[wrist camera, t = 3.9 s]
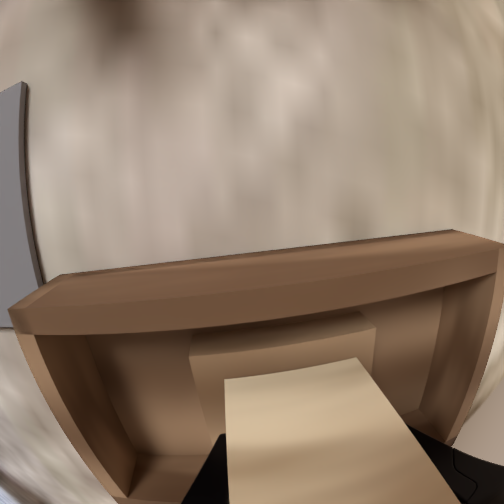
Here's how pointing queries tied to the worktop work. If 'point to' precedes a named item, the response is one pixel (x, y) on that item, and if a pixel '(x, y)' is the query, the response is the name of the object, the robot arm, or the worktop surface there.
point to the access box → (254, 343)
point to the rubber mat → (14, 207)
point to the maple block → (323, 441)
